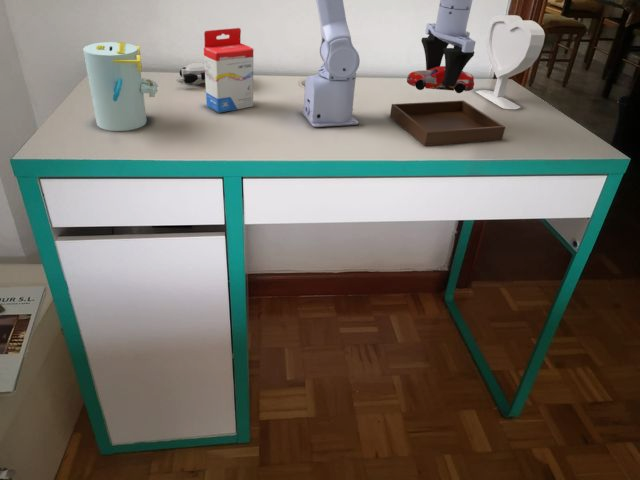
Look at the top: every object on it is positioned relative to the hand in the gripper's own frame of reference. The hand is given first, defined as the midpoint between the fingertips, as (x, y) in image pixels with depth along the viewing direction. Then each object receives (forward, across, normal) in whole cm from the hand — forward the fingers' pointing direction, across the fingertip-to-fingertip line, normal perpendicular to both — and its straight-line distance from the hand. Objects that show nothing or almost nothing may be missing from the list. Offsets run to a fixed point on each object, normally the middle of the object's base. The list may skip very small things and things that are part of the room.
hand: (440, 80), depth 103 cm
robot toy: (+9, +30, +40) cm, 51 cm away
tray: (+8, -4, 0) cm, 9 cm away
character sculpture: (+9, +9, +59) cm, 61 cm away
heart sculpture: (+9, +10, -23) cm, 27 cm away
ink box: (+9, +14, +39) cm, 43 cm away
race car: (+2, 0, 0) cm, 2 cm away
